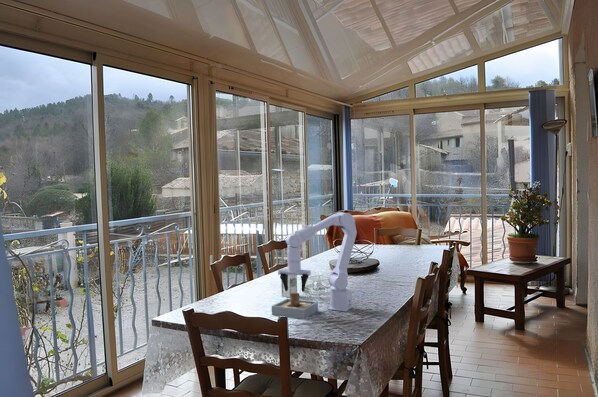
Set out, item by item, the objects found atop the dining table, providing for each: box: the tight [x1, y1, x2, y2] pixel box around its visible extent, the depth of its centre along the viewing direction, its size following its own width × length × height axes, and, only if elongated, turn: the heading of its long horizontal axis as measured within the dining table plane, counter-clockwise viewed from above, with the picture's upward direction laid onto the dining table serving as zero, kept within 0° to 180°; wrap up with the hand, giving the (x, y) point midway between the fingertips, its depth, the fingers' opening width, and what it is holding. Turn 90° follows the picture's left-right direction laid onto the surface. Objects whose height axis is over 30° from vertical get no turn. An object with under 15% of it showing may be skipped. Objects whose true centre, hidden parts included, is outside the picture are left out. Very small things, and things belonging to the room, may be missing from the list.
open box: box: [271, 298, 319, 320], centre depth 222 cm, size 16×14×4 cm
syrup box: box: [280, 266, 298, 299], centre depth 253 cm, size 6×6×14 cm
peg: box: [289, 292, 301, 308], centre depth 222 cm, size 4×4×8 cm
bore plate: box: [281, 301, 311, 309], centre depth 222 cm, size 11×11×3 cm
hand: (294, 290), depth 222 cm, fingers open, 7 cm apart
